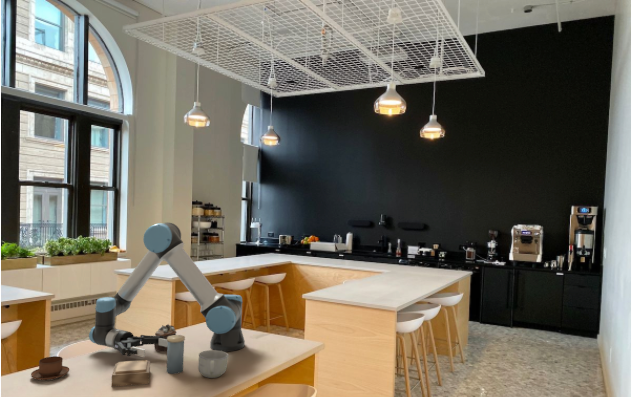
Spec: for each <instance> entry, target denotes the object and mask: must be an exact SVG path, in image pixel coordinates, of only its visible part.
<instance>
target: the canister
mask: <svg viewBox="0 0 632 397" xmlns="http://www.w3.org/2000/svg"><path fill="white" fill-rule="evenodd" d="M185 338H186V337H185V335H181V334H176V335H172V336H169V337H167V341H168V346H167V351H166V373H168V374H172V375H175V374H177V375H178V374H180V373H183V371H184V357H185V356H184V354H185V340H186V339H185Z"/></svg>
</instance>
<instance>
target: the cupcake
mask: <svg viewBox="0 0 632 397" xmlns="http://www.w3.org/2000/svg"><path fill="white" fill-rule="evenodd" d="M154 333H155V334H154V336H164V339H167V337H169V336H172V335H177V331H176V329H175V326H174V325H170V324H169V323H168V324H166V325H161V326H160V328H159V327H158V330H157V331H156V332H154ZM153 345H154V346H153V347H154V350H155V351H158V352H167V347H165V346H160V345H159V344H153Z"/></svg>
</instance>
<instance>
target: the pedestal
mask: <svg viewBox="0 0 632 397" xmlns="http://www.w3.org/2000/svg"><path fill="white" fill-rule="evenodd" d="M150 374H151V360H148V359H143V360H142V359H141V360H127V361H125V360H124V361H118V362H115V365H114V367H113V370H112V374H111V384H110V385H111V388H113V387H114V388H115V387H125V386H126V387H127V386H139V385H149V382H150Z"/></svg>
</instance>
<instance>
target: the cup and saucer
mask: <svg viewBox="0 0 632 397" xmlns="http://www.w3.org/2000/svg"><path fill="white" fill-rule="evenodd" d="M63 359H64V358H63V357H62V356H59V355H58V356H57V355H56V356H55V355H54V356H47V357H44V358H43V357H42V358H41V359H40V360H39V361H38V369H35V370H33V371H32V372H31V373H30V376H31V378H32V379H35V380H38V381H51V380H52V381H53V380H55V379H56V380H57V379H59V378H63V377H64V376H66V375H67V374H68V373H69V372H70V368H69V367H68V366H66V365H63Z"/></svg>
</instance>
